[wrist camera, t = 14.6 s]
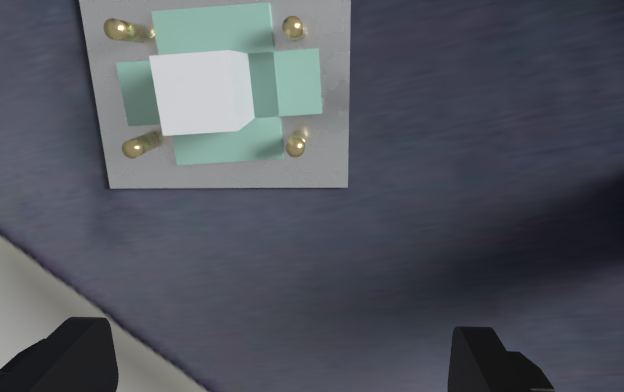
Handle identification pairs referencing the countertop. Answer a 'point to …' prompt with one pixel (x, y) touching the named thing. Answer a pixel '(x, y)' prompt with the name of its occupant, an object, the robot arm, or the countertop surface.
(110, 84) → the chassis plate
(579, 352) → the countertop surface
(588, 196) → the countertop surface
